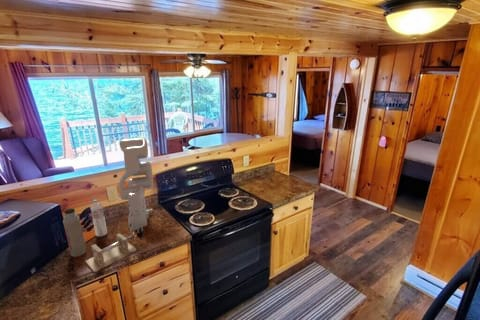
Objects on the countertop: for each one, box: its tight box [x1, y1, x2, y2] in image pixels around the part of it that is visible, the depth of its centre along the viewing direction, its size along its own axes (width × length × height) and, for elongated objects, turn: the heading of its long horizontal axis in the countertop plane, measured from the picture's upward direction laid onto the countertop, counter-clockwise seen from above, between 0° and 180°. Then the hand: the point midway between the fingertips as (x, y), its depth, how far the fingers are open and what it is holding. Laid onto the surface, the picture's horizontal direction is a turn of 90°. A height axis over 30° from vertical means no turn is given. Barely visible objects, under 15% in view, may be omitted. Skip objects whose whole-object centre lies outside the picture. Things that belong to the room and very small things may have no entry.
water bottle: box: [90, 199, 108, 238], centre depth 167 cm, size 7×7×25 cm
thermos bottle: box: [62, 208, 87, 258], centre depth 148 cm, size 8×8×28 cm
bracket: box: [84, 233, 137, 273], centre depth 147 cm, size 24×12×10 cm, turn 140°
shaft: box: [94, 232, 138, 257], centre depth 150 cm, size 24×4×4 cm, turn 140°
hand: (140, 236), depth 161 cm, fingers closed
